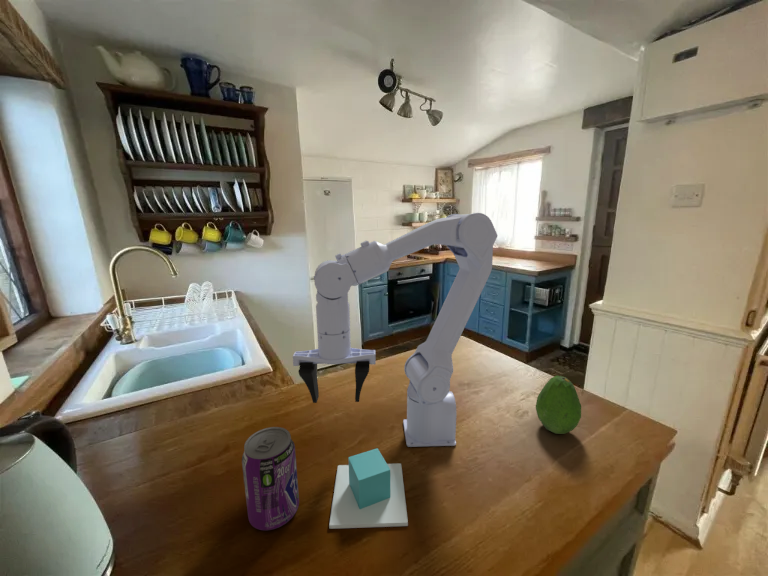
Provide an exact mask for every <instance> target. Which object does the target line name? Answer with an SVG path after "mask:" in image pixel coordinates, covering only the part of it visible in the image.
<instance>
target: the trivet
mask: <svg viewBox="0 0 768 576" xmlns="http://www.w3.org/2000/svg"><path fill="white" fill-rule="evenodd" d="M387 465H388V466H389V468H390V498H388V499H385V500H383V501H380V502H378V503H375V504H373V505H370V506H367V507H365V508H362V509H359V507H358V504H357V502H356V499H355V497H354V494H353V492H352V490H351V487H350V485H349V464H339V465H337V469H336V470H337V471H336V476H335V483H334V488H333V489H334V490H333V492H334V493H333V498H332V503H331V510H330V518H329V525H328V527H329V529H335V530H336V529H357V528H359V529H360V528H362V529H363V528H365V529H366V528H385V527H386V528H387V527H388V528H389V527H390V528H393V527H408V526H409V522H408V521H409V520H408V519H409V518H408V512H407V511H408V510H407V503H406V495H405V485H404V478H403V477H404V476H403V469H402V463H387Z"/></svg>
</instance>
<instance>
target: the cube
mask: <svg viewBox="0 0 768 576" xmlns="http://www.w3.org/2000/svg"><path fill="white" fill-rule="evenodd" d="M347 459H348V465H349V485H350V487H351V490H352V492H353V494H354V497H355V499H356V502H357V504H358V507H359V509H362V508H365V507H367V506H370V505H373V504H375V503H378V502H380V501H383V500H385V499H388V498H390V468H389V466H388V465H387V464H388V463H387V462H386V460H385V458H384V456H383V455H382V453H381V451H380V450H379V448H374V449H370V450H368V451H364V452H361V453H358V454H355V455H351V456H348V458H347Z"/></svg>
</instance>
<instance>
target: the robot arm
mask: <svg viewBox="0 0 768 576" xmlns="http://www.w3.org/2000/svg"><path fill="white" fill-rule="evenodd" d="M497 238H498V233H497V231H496V228H495V226H494V224H493V222H492V220H491V218H490V217H489V216H488V215H486V214H485V213H482V212H472V213H464V214H462V213H452V214H449V215H448V216H446V217H440V218H437V219H434V220H432V221H430V222H427V223H425V224H422V225H421V226H419V227H417V228H415V229H413V230H411V231H409V232H407V233H404V234H402V235H401V236H399V237H397V238H395V239H392V240H391V241H388V242H386V243H384V244H383V243H381V242H379V241H377V240H373V241H371V242H369V240H364V241H361V242H360V246H359V247H357V248H355V249H353V250H351V251H349V252H346V253H344V254H341V252H339V253H337V254H335V256H334V257H335V259H336V260H331V259H329V260H325V261H322V262H321V263H320V264H319V265H318V266H317V267H316V269H315V272H314V276H313V280H314V286H315V288H316V294H315V299H316V300H315V301H316V302H317V303H316V305H315V311H316V312H315V313H316V314H315V316H316V330H317V331H316V332H317V348H315V349H308V350H301V351H299V350H298V351H297V350H296V351H294V353H293V355H292V366H293V367H299V369H298V374H299V377H300V378H301V380H302V381H303V382H304V383H305V386H306V387H307V389H308V391H309V394H310V396H311V400H312V404H317V403H318V400H319V397H320V396H319V395H320V394H319V393H320V392H319V383H318V382H319V381H318V364H319V365H321V364H322V365H323V364H324V365H340V364H355V366H354V379H355V395H354V396H355V397H354V400H355V401H354V402H355V403H358V402H360V398H361V397H360V396H361V393H362V392H361V391H362V388H363V385H364V383H365V380H366V378H367V377H368V375H369V372H370V365H376V362H377V361H376V349H363V348H355V347H352V346H351V320H350V319H351V317H350V315H351V314H350V312H351V311H350V302H349V294H348V293H349V291H350V289H351V287H353V286H354V287H356V286H357V287H358V285H361V284H363V283H365V282H367V281H369V280H372V279H374V278H377V277H378V276H380V275H382V274H385V273H387V272H388V271H389V270H390V267H391V265H392V263H393V262H394V261H396V260H399V259H401V258H403V257H405V256H409V255H411V254H413V253H416V252H418V251H420V250H422V249H425V248H427V247H430V246H433V245H442V246H446V247H447V248H448V250H450V251H451V252H452V254H453V256H454V258H455V260H456V262H457V265H458V267H459V270H458V272H457V273H456V276H455V278H454V279H453V283H452V284H451V287H450V289H449V291H448V293H447V296H446V298H445V300H444V302H443V304H442V306H441V308H440V311H439V313H438V315H437V316H436V319H435V321H434V323H433V326H432V328H431V330H430V332H429V334H428V336H427V338H426V340H425V341H424V342H422V343H420V344H419V345H417V347H416V348H415V351H414V352H413V353H412V354H411V355H410V356H409V357H408V358H407V359H406V361H405V364H404V367H403V368H404V373H405V376H406V377H407V379H408V380H409V384H408V385H407V386H408V387H407V389H406V394H407V395H406V419H405V418H403V421H402V423H403V429H404V436H405V442H406V446H407V447H408V448H409V447H410V448H412V447H417V448H418V447H420V448H421V447H444V446H445V447H450V446H451V447H453V446H456V445H457V441H456V435H457V434H456V432H457V431H456V430H457V404H456V397H455V395H454V393H453V391H450V389H451V378H452V375H453V373H454V365H453V358H452V357H453V352H454V350H455V348H456V347H457V344H458V343H459V341H460V338H461V335H462V334H463V331H465V330H464V329H465V327H466V325H467V324H468V322H469V319H470V317H471V315H472V313H473V311H474V308H475V306H476V304H477V302H478V301H479V299H480V296H481V295H482V292H483V290H484V288H485V286H486V284H487V281H488V279H489V277H490V275H491V273H492V270H493V259H494V258H493V255H494V245H495V243H496V241H497Z"/></svg>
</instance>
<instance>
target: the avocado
mask: <svg viewBox="0 0 768 576" xmlns="http://www.w3.org/2000/svg"><path fill="white" fill-rule="evenodd" d="M535 411H536V415H537V417H538V418H537V419H538V420H539V421H540V423H541V424H542V425H543V427H544V428H545V429H546V430H547V431H549V432H552V433H554V434H555V435H556V434H562V435H563V434H567V433H569V432H570V433H571V432H572V431H573V430H575V429H576V427H577V426H578V424H579V423H580V420H581V418H582V405H581V402H580V398H579V395H578V393H577V391H576V388H575V386H574V384H573V383H572V381H571V380H570V379H568V378H567V377H566V376H562V375H554V376H553V377H551V378H549V379H548V380H547V382H546V383H545V385H544V386H543V388H542V389H541V390H540V392H539V394H538V396H537V397H536V402H535Z"/></svg>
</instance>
